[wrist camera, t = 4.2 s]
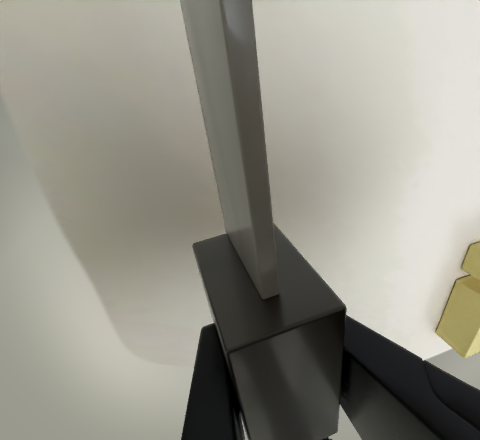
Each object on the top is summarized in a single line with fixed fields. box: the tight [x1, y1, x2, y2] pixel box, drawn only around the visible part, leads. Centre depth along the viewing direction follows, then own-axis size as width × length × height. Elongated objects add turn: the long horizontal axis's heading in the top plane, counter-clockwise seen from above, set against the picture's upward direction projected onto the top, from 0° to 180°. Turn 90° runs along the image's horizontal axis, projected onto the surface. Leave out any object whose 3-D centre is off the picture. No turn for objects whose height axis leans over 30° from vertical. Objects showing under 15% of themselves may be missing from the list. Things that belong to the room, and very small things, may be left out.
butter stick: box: [436, 275, 480, 358], centre depth 26 cm, size 7×4×3 cm, turn 4°
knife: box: [180, 0, 347, 440], centre depth 6 cm, size 2×11×4 cm, turn 9°
